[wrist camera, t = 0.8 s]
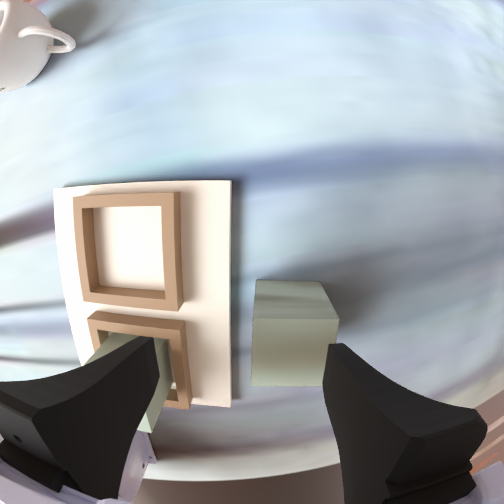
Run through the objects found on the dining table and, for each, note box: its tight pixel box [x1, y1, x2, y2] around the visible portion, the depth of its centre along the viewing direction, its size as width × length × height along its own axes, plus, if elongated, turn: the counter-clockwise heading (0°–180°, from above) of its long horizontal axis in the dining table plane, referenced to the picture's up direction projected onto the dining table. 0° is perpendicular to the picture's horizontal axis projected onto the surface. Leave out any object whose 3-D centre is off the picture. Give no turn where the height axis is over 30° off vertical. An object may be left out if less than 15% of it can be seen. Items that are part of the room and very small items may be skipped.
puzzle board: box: [54, 180, 232, 433], centre depth 18 cm, size 18×14×7 cm
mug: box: [0, 0, 76, 92], centre depth 13 cm, size 12×8×8 cm
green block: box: [251, 280, 340, 386], centre depth 18 cm, size 4×4×6 cm
